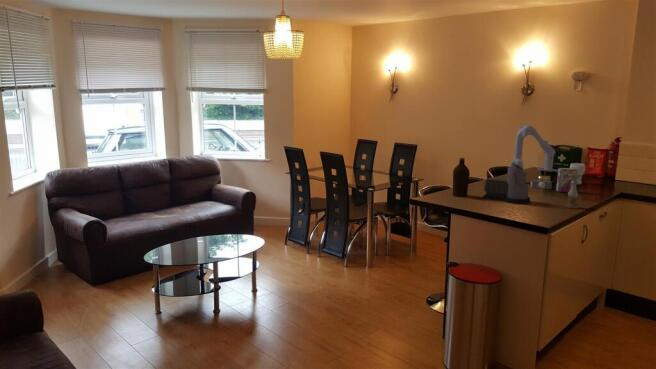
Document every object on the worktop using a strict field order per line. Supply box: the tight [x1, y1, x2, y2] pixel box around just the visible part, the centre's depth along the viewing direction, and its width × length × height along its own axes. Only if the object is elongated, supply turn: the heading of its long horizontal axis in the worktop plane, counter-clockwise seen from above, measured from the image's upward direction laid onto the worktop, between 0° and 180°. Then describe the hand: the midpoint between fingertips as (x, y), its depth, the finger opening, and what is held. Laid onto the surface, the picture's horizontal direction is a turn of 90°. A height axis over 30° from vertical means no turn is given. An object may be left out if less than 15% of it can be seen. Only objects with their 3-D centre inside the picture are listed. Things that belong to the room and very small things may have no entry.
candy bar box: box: [555, 167, 577, 193], centre depth 353 cm, size 11×5×16 cm, turn 84°
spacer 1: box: [537, 175, 546, 181], centre depth 370 cm, size 5×5×5 cm
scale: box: [530, 179, 553, 190], centre depth 371 cm, size 13×17×5 cm
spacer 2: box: [544, 175, 552, 182], centre depth 388 cm, size 5×5×5 cm
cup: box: [569, 162, 586, 185], centre depth 386 cm, size 11×11×15 cm
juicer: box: [480, 162, 532, 205], centre depth 322 cm, size 30×16×24 cm, turn 56°
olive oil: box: [452, 157, 471, 198], centre depth 334 cm, size 11×11×25 cm
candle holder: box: [563, 173, 583, 210], centre depth 305 cm, size 9×9×20 cm
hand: (547, 180), depth 388 cm, fingers closed on spacer 2, 5 cm apart
